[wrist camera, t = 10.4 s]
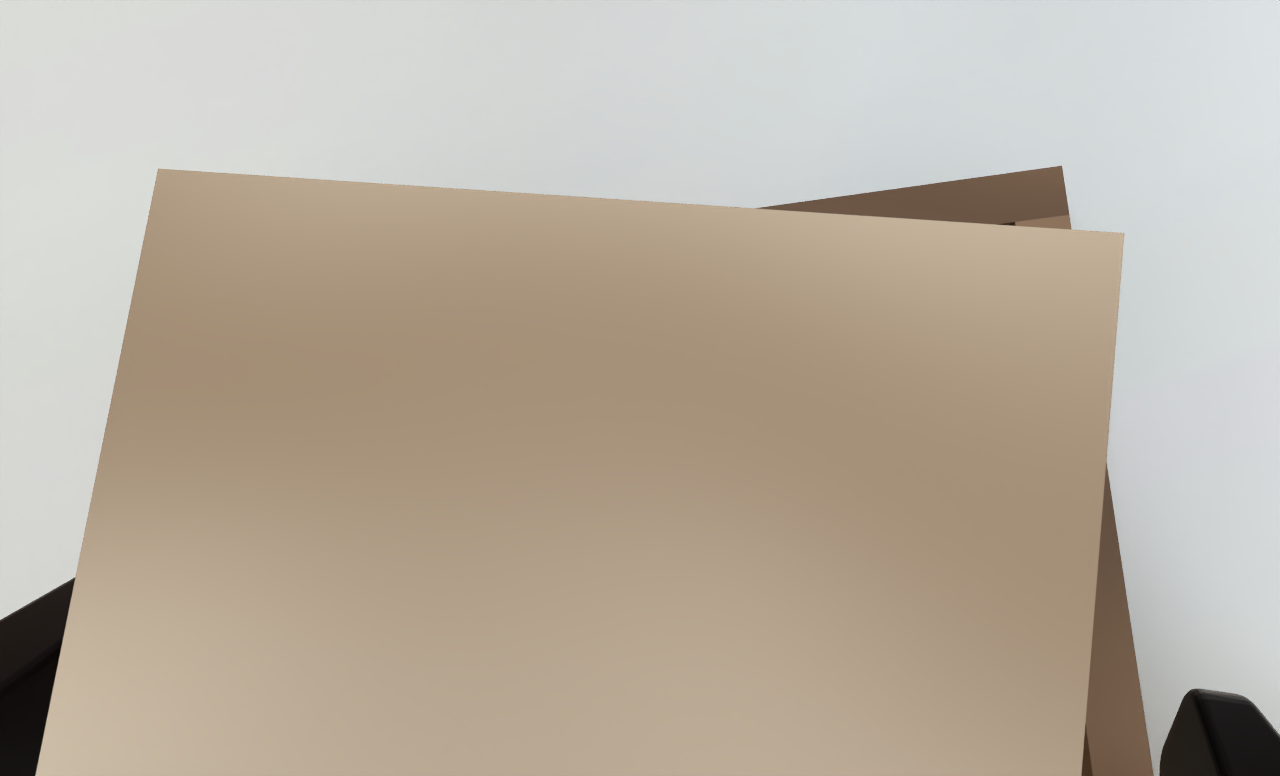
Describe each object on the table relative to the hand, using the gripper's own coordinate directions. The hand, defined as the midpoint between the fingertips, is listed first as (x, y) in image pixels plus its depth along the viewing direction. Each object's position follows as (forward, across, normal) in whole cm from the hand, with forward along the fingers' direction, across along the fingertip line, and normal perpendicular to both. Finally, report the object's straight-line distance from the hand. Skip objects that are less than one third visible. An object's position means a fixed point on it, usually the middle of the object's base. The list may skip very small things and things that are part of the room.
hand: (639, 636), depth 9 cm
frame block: (+6, 0, +6) cm, 8 cm away
